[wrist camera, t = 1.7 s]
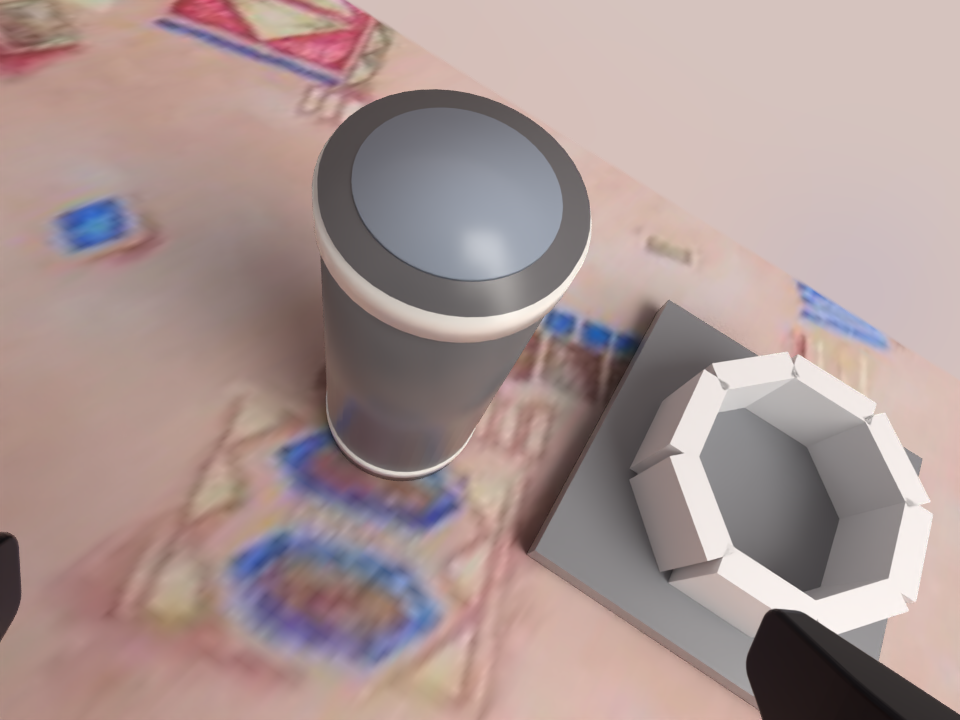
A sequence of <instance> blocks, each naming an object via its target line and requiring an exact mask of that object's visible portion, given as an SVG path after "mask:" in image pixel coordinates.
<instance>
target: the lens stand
mask: <svg viewBox="0 0 960 720" xmlns="http://www.w3.org/2000/svg"><path fill="white" fill-rule="evenodd" d="M876 404H877V403H875V402H874V401H872V400H871V399H869V398H867V397H866V396H864V395H863V394H861V393H859V392H858V391H856V390H855V389H853V388H851V387H850V386H848V385H847V384H845V383H843V382H842V381H840V380H839V379H837V378H835V377H834V376H832V375H831V374H829V373H827V372H826V371H824V370H823V369H821V368H819V367H818V366H816V365H815V364H813V363H811V362H810V361H808V360H807V359H805V358H803V357H802V356H800V355H799V354H798V355H796V356H794V357H793V358H790V356H789V353H788V352H782V353H775V354H769V355H763V356H758V355H756V354H755V353H753V352H751V351H750V350H748V349H747V348H745V347H743V346H742V345H740V344H739V343H737V342H735V341H734V340H732V339H731V338H729V337H727V336H726V335H724V334H723V333H721V332H719V331H718V330H716V329H715V328H713V327H711V326H710V325H708V324H707V323H705V322H704V321H702V320H700V319H699V318H697V317H696V316H694V315H692V314H691V313H689V312H688V311H686V310H684V309H683V308H681V307H680V306H678V305H676V304H675V303H673V302H672V301H670V300H668V301H667V302H666V303H665V304H664V305H663V306H662V307H661V309H660V310H659V311H658V312H657V314H656V316H655V317H654V319H653V321H652V323H651V325H650V327H649V329H648V330H647V332H646V334H645V336H644V338H643V340H642V342H641V343H640V345H639V347H638V349H637V351H636V353H635V355H634V356H633V358H632V360H631V362H630V364H629V366H628V368H627V369H626V371H625V373H624V375H623V377H622V379H621V380H620V382H619V384H618V386H617V388H616V390H615V392H614V393H613V395H612V397H611V399H610V401H609V403H608V405H607V406H606V408H605V410H604V412H603V414H602V416H601V418H600V419H599V421H598V423H597V425H596V427H595V429H594V430H593V432H592V434H591V436H590V438H589V440H588V442H587V443H586V445H585V447H584V449H583V451H582V453H581V455H580V456H579V458H578V460H577V462H576V464H575V466H574V468H573V469H572V471H571V473H570V475H569V477H568V479H567V481H566V482H565V484H564V486H563V488H562V490H561V492H560V493H559V495H558V497H557V499H556V501H555V503H554V505H553V506H552V508H551V510H550V512H549V514H548V516H547V518H546V519H545V521H544V523H543V525H542V527H541V529H540V531H539V532H538V534H537V536H536V538H535V540H534V542H533V543H532V545H531V547H530V549H529V551H528V553H527V555H528V556H530V557H531V558H533V559H534V560H536V561H537V562H539V563H540V564H542V565H543V566H545V567H546V568H548V569H549V570H551V571H552V572H554V573H555V574H557V575H558V576H560V577H561V578H563V579H564V580H566V581H567V582H569V583H570V584H572V585H573V586H575V587H576V588H578V589H579V590H581V591H582V592H583V593H585V594H586V595H588V596H589V597H591V598H592V599H594V600H595V601H597V602H598V603H600V604H601V605H603V606H604V607H606V608H607V609H609V610H610V611H612V612H613V613H615V614H616V615H618V616H619V617H621V618H622V619H624V620H625V621H627V622H628V623H630V624H631V625H633V626H634V627H636V628H637V629H639V630H640V631H642V632H643V633H645V634H646V635H648V636H649V637H651V638H652V639H654V640H655V641H657V642H658V643H660V644H661V645H663V646H664V647H666V648H667V649H669V650H670V651H672V652H673V653H675V654H676V655H678V656H679V657H681V658H682V659H684V660H685V661H687V662H688V663H690V664H691V665H693V666H694V667H696V668H697V669H699V670H700V671H701V672H703V673H704V674H706V675H707V676H709V677H710V678H712V679H713V680H715V681H716V682H718V683H719V684H721V685H722V686H724V687H725V688H727V689H728V690H730V691H731V692H733V693H734V694H736V695H737V696H739V697H740V698H742V699H743V700H745V701H746V702H748V703H749V704H751V705H752V706H754V707H755V708H757V709H758V706H757V703H756V700H755V697H754V694H753V691H752V688H751V686H750V683H749V680H748V676H747V672H746V657H747V654H748V651H749V649H750V647H751V644H752V642H753V640H754V637H755V635H756V633H757V630H758V628H759V626H760V623H761V621H762V619H763V617H764V615H765V614H766V613H767V612H768V611H769V610H771V609H775V608H777V609H788V610H797V611H801V612H804V613H805V614H807V615H809V616H810V617H812V618H813V619H815V620H816V621H818V622H819V623H821V624H822V625H824V626H825V627H827V628H828V629H830V630H831V631H833V632H835V633H836V634H838V635H839V636H841V637H842V638H844V639H845V640H847V641H848V642H850V643H851V644H853V645H854V646H856V647H857V648H859V649H860V650H862V651H863V652H865V653H867V654H868V655H870V656H871V657H873V658H874V659H876V660H877V661H879V656H880V652H881V647H882V642H883V638H884V633H885V629H886V624H887V619H888V618H889V617H892V616H895V615H898V614H901V613H905V612H908V611H909V610H908V608H907V605H906V603H916V600H917V594H918V589H919V584H920V579H921V574H922V569H923V564H924V559H925V554H926V549H927V544H928V539H929V533H930V528H931V523H932V518H933V514H932V513H931V512H929V511H927V510H926V509H924V508H923V507H921V506H919V505H921V504H925V503H929V502H931V501H930V499H929V497H928V495H927V493H926V491H925V489H924V487H923V485H922V483H921V481H920V480H919V478H918V476H919V472H920V467H921V463H922V458H920V457H919V456H917V455H915V454H914V453H912V452H911V451H909V450H907V449H906V448H904V447H903V446H902V444H901V443H900V441H899V439H898V437H897V435H896V433H895V431H894V429H893V427H892V425H891V423H890V421H889V419H888V417H887V415H886V413H880V414H875V415H874V411H875V407H876ZM758 710H759V709H758Z"/></svg>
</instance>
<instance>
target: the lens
mask: <svg viewBox="0 0 960 720" xmlns="http://www.w3.org/2000/svg"><path fill="white" fill-rule="evenodd" d="M312 205H313V222H314V231H315V237H316V242H317V245H318V248H319V251H320V254H321V275H322V297H323V318H324V339H325V360H326V382H327V391H326V413H327V419H328V423H329V426H330V430H331V433H332V436H333V438H334V440H335V442H336V444H337V446H338V447H339V449H340V450H341V452H342V453H343V454H344V455H345V456H346V457H347V459H348V460H349V461H351V462H352V463H353V464H354V465H355V466H357V467H358V468H360V469H361V470H363V471H364V472H367V473H369V474H371V475H373V476H376V477H379V478H382V479H387V480H393V481H409V480H416V479H421V478H424V477H427V476H430V475H432V474H434V473H436V472H438V471H440V470H441V469H443V468H444V467H446V466H447V465H448V464H449V463H450V462H451V461H453V460H454V459H455V458H456V457H457V456H458V455H459V454H460V452H461V451H462V450H463V449H464V447H465V446H466V444H467V443H468V441H469V439H470V438H471V436H472V435H473V432H474V430H475V428H476V425H477V424H478V422H479V421H480V419H481V417H482V416H483V414H484V413H485V411H486V409H487V408H488V406H489V405H490V403H491V401H492V400H493V398H494V396H495V395H496V393H497V392H498V390H499V388H500V387H501V385H502V384H503V382H504V380H505V379H506V377H507V375H508V374H509V372H510V371H511V369H512V367H513V366H514V364H515V363H516V361H517V359H518V358H519V356H520V355H521V353H522V351H523V350H524V348H525V346H526V345H527V343H528V342H529V340H530V338H531V337H532V335H533V334H534V332H535V330H536V329H537V327H538V326H539V324H540V322H541V321H542V319H543V317H544V316H545V315H546V314H547V313H548V312H550V311H551V310H552V309H553V307H554V306H555V305H556V304H557V303H558V302H559V301H560V299H561V298H562V296H563V295H564V293H565V292H566V290H567V289H568V287H569V285H570V284H571V282H572V281H573V279H574V278H575V276H576V274H577V273H578V271H579V269H580V268H581V266H582V265H583V262H584V260H585V257H586V255H587V252H588V248H589V244H590V239H591V227H592V221H591V211H590V204H589V199H588V195H587V191H586V188H585V185H584V183H583V180H582V178H581V175H580V173H579V171H578V170H577V168H576V166H575V164H574V162H573V161H572V160H571V158H570V157H569V155H568V154H567V153H566V151H565V150H564V149H563V148H562V147H561V146H560V144H559V143H558V142H557V141H556V140H555V139H554V138H553V137H552V136H551V135H550V134H549V133H547V132H546V131H545V130H544V129H543V128H542V127H540V126H539V125H538V124H536V123H535V122H534V121H532V120H531V119H529V118H528V117H526V116H524V115H523V114H521V113H519V112H518V111H516V110H514V109H512V108H510V107H508V106H505V105H503V104H501V103H499V102H496V101H493V100H490V99H488V98H485V97H481V96H477V95H474V94H470V93H464V92H458V91H451V90H438V89H435V90H415V91H408V92H402V93H398V94H394V95H390V96H387V97H384V98H382V99H379V100H376V101H374V102H372V103H370V104H368V105H366V106H364V107H362V108H361V109H359V110H358V111H357V112H355V113H354V114H352V115H351V116H350V117H348V118H347V119H346V120H345V121H344V122H343V123H342V124H341V125H340V126H339V127H338V129H337V130H336V131H335V132H334V133H333V135H332V136H331V137H330V138H329V140H328V141H327V142H326V144H325V146H324V148H323V149H322V151H321V153H320V155H319V157H318V160H317V163H316V166H315V169H314V175H313V181H312Z"/></svg>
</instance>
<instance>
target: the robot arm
mask: <svg viewBox="0 0 960 720" xmlns="http://www.w3.org/2000/svg"><path fill="white" fill-rule="evenodd" d="M20 600H21V577H20V559H19V545H18V541H17V539H16V537H15V536H14V535H12V534H10V533H8V532H0V642H1V640H2V638H3V636H4V635H5V633H6V631H7V630H8V628H9V626H10V624H11V623H12V621H13V619H14V617H15V615H16V613H17V611H18V608H19V605H20ZM746 672H747V676H748V680H749V683H750V686H751V688H752V691H753V694H754V697H755V700H756V703H757V706H758V709H759V711H760V714H761V717H762V720H960V715H959V714H958V713H956V712H955V711H953V710H952V709H950V708H949V707H947V706H946V705H944V704H943V703H941V702H940V701H938V700H937V699H935V698H934V697H932V696H931V695H929V694H927V693H926V692H924V691H923V690H921V689H920V688H918V687H917V686H915V685H914V684H912V683H911V682H909V681H908V680H906V679H905V678H903V677H902V676H900V675H899V674H897V673H895V672H894V671H892V670H891V669H889V668H888V667H886V666H885V665H883V664H882V663H880V662H879V661H877V660H876V659H874V658H873V657H871V656H870V655H868V654H867V653H865V652H863V651H862V650H860V649H859V648H857V647H856V646H854V645H853V644H851V643H850V642H848V641H847V640H845V639H844V638H842V637H841V636H839V635H838V634H836V633H835V632H833V631H831V630H830V629H828V628H827V627H825V626H824V625H822V624H821V623H819V622H818V621H816V620H815V619H813V618H812V617H810V616H809V615H807V614H805V613H804V612H801V611H797V610H788V609H777V608H775V609H771V610H769V611H768V612H767V613H766V614H765V615H764V617H763V619H762V621H761V623H760V626H759V628H758V630H757V633H756V635H755V637H754V640H753V642H752V644H751V647H750V649H749V651H748V654H747V657H746Z"/></svg>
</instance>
